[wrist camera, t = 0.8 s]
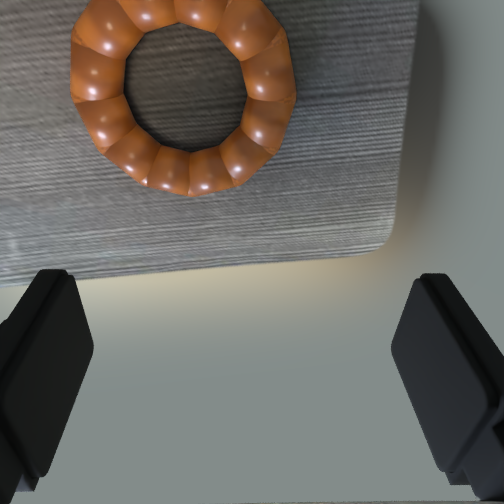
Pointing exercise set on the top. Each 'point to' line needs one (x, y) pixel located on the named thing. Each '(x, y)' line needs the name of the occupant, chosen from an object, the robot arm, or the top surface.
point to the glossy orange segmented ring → (138, 140)
